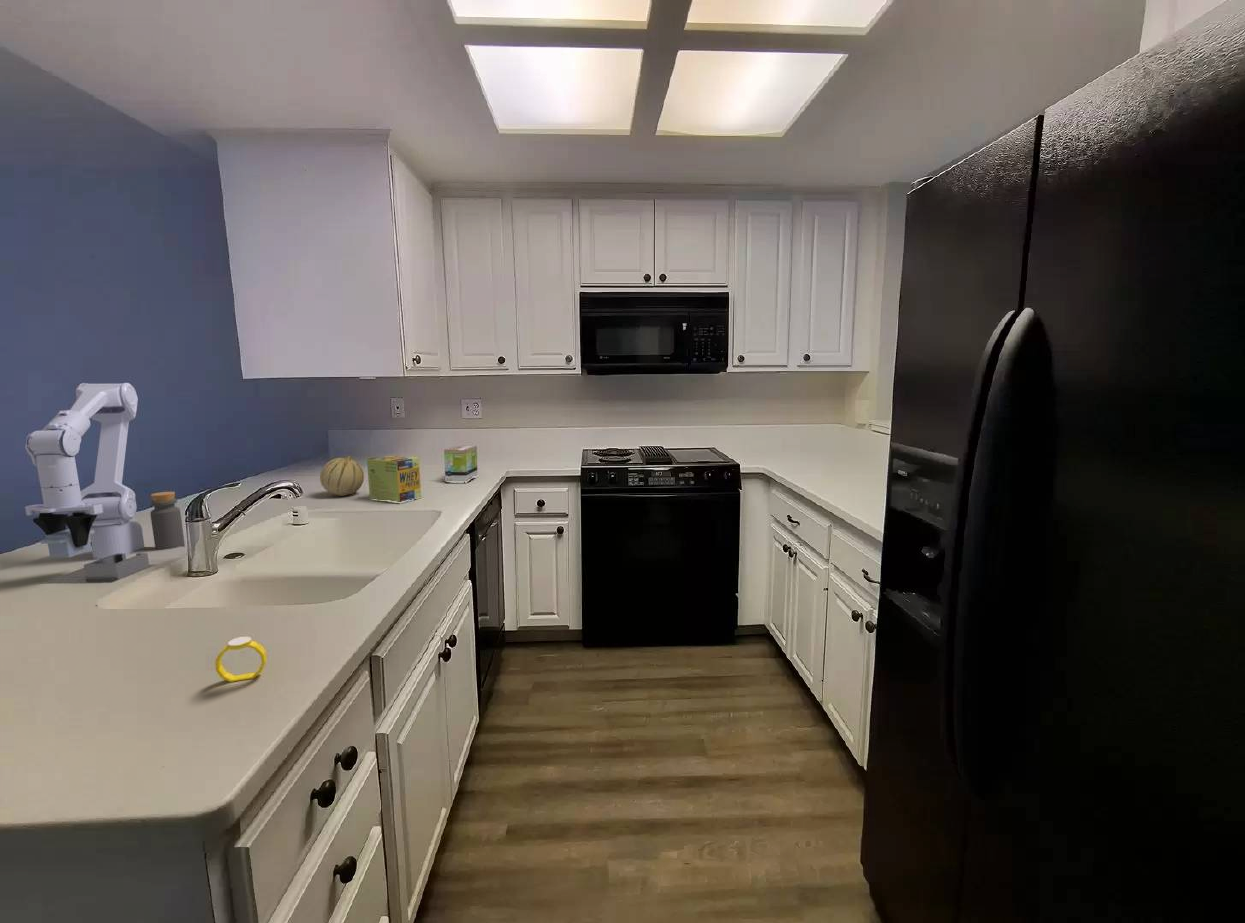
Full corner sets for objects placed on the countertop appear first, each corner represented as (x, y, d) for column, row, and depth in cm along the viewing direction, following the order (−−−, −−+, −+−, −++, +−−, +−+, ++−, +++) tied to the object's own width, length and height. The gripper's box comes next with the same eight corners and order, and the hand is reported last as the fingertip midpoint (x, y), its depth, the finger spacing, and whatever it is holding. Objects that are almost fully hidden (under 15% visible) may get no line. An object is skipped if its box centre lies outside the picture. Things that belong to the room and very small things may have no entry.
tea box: (468, 483, 225) (466, 449, 223) (444, 483, 225) (442, 449, 223) (478, 477, 240) (476, 445, 238) (456, 477, 240) (454, 445, 238)
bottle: (182, 544, 142) (174, 490, 140) (187, 549, 138) (180, 492, 136) (153, 550, 137) (145, 493, 135) (158, 554, 134) (150, 496, 131)
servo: (80, 547, 120) (76, 526, 120) (98, 547, 121) (94, 526, 120) (43, 559, 113) (39, 537, 112) (63, 559, 113) (58, 537, 112)
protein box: (400, 504, 188) (396, 461, 185) (369, 500, 194) (365, 458, 192) (422, 498, 197) (419, 457, 195) (392, 495, 204) (389, 455, 201)
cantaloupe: (317, 495, 203) (313, 456, 201) (357, 489, 213) (354, 453, 211) (329, 501, 193) (325, 460, 191) (371, 495, 203) (368, 456, 201)
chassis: (91, 569, 123) (88, 551, 123) (156, 568, 124) (153, 550, 123) (40, 587, 112) (37, 568, 112) (112, 586, 113) (109, 567, 112)
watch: (269, 671, 80) (268, 634, 79) (263, 681, 77) (262, 642, 76) (221, 676, 78) (219, 638, 77) (214, 686, 75) (212, 647, 74)
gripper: (5, 489, 110) (16, 552, 112) (75, 489, 110) (86, 551, 113) (41, 482, 117) (51, 542, 119) (107, 482, 117) (117, 541, 119)
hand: (70, 546), depth 116 cm, fingers closed on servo, 4 cm apart
